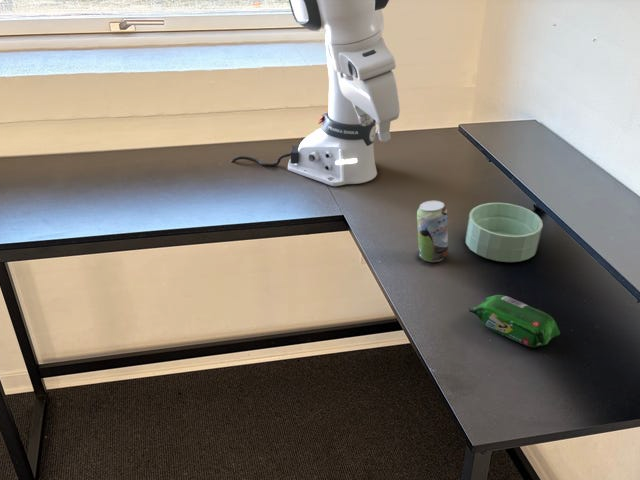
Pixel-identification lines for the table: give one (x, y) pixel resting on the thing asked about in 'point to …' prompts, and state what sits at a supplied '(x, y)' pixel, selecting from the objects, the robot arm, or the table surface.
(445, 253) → the beverage can
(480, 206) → the bowl
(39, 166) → the table surface
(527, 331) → the snack package
